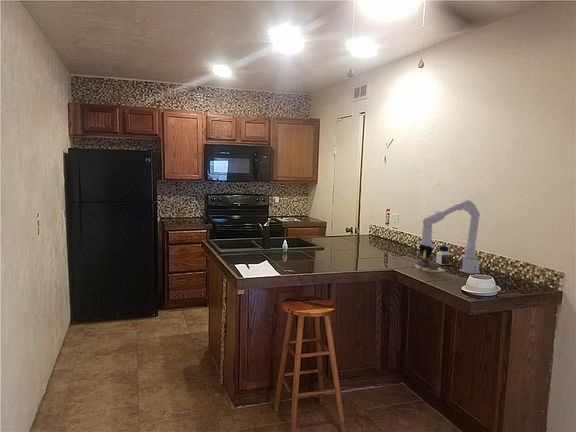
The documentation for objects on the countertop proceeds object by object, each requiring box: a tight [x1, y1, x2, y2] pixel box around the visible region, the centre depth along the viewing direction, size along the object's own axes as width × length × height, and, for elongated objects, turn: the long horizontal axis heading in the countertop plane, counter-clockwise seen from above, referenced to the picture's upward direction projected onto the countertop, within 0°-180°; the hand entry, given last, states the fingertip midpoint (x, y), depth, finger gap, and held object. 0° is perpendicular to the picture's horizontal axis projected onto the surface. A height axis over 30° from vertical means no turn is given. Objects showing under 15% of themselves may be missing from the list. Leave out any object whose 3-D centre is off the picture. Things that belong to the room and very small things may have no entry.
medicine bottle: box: [435, 245, 452, 266], centre depth 294 cm, size 7×7×12 cm
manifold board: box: [412, 259, 446, 274], centre depth 277 cm, size 17×11×4 cm, turn 20°
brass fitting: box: [422, 249, 430, 261], centre depth 281 cm, size 4×4×7 cm
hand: (425, 257), depth 281 cm, fingers closed on brass fitting, 3 cm apart
